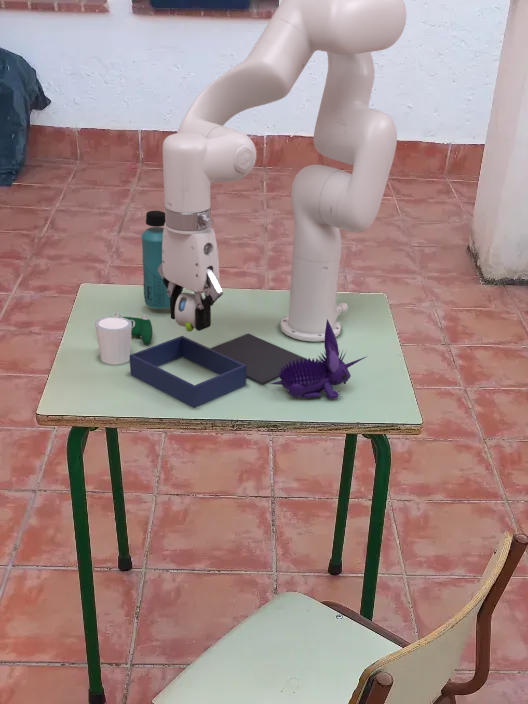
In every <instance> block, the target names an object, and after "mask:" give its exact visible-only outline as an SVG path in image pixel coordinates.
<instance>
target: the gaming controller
mask: <svg viewBox="0 0 528 704" xmlns="http://www.w3.org/2000/svg"><path fill="white" fill-rule="evenodd" d="M114 316H117V317H123V318H126V319H129V320H130V321H131V323H132V330H131V337H136V338H141V339H142V342H143V345H146V346H149V345H150V344H151V342H152V339H153V325H152V322H151V320H150V318H149V317H148V316H147V315H145V314H143V315H142V317H141V318H140V317H134V316H133V317H132V316H122V315H121V313H119V312H116V313H115V314H114Z"/></svg>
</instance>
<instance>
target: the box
mask: <svg viewBox="0 0 528 704" xmlns="http://www.w3.org/2000/svg"><path fill="white" fill-rule="evenodd" d="M181 358H184V359H186V360H188V361H190V362H192V363H194V364H196V365H198V366H201V367H202V368H204V369H206V370H209V371H211V372H213V373H215V374H217V375H216V376H213V377H211V378H208V379H206V380H203V381H201V382H199V383H196V384H193V383H191V382H189V381H187V380H185V379H183V378H181V377H179V376H176V375H175V374H172V373H171V372H169V371H166V370H165V369H162V368H161V367H160V366H163V365H165V364H168V363H170V362H173V361H176V360H178V359H181ZM129 368H130V369H129V370H130V372H129V373H130V376H131V377H133V378H135V379H137V380H139V381H141V382H142V383H145V384H146V385H149V386H151V387H153V388H155V389H157V390H159V391H161V392H163V393H164V394H166V395H168V396H170V397H172V398H174V399H176V400H178V401H180V402H182V403H184V404H186V405H187V406H189V407H192V408H193V409H196V408H198V407H200V406H203V405H204V404H207V403H209V402H212V401H214V400H216V399H218V398H221V397H223V396H225V395H228V394H229V393H232V392H234V391H237V390H239V389H241V388H243V387H245V386H247V377H246V371H247V365H245V364H242V363H240V362H238V361H236V360H234V359H232V358H229V357H227V356H225V355H223V354H221V353H219V352H216V351H214V350H212V349H210V347H208V346H205V345H204V344H201V343H200V342H197V341H195V340H193V339H190V338H188V337H186V336H184V335H181V336H178V337H175V338H171V339H169V340H167V341H164V342H161V343H158V344H156V345H154V346H153V345H152V346H151V347H148V348H145V349H142V350H140V351H137V352H134V353H132V354H131V353H130V360H129Z"/></svg>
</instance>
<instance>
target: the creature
mask: <svg viewBox="0 0 528 704" xmlns="http://www.w3.org/2000/svg"><path fill="white" fill-rule="evenodd" d="M343 352H344V350H342V351H341V352H340V351H339V343H338V341H337V337H335V334H334V332H333V330H332V328H331V326H330V324H329V321H328V319H327V323H326V330H325V341H324V354H323V353H322V352H320V355H318V354H317V358H314V357H313V358H312V359H311V358H310V357H308V358H306V357H304V358H305V359H304V363H303V360H302V359H300V363H299V361H298V359H296V364H295V362H294V360H293V362H292V363H293V366H292V364H291V362H290V361H289V366H288V365H287V363H286V368H285V366H284V365H283V367H284V368H283V369H284V370H283V369H282V368H281V371H282V372H281V371H280V370H279V371H280V374H281V375H280V374H279V373H278V374H279V376H280V377H279V378H280V380H277V381H275V382H274V381H273V382H270V385H281V386H282V387H283V388H284V389H285V390H286V391H287V392H288V394H289V395H290V397H294V398H305V399H312V398H318V397H320V396H321V397H323V396H324V394H323V393H321V392H324V393H325V395H326V397H327V398H328V399H330V400H336V399H337V398H338V397H339V398H340V397H342V398H343V396H342V395H340V393H339V392H340V390H338V391H336V390H335V389H334V387H333V386H339V385H341V384H343V385H346V383H347V382H348V381H349V379H351V373H350V371H349V368H350V367H352V366H354V365H356V364H357V363H358V362H361V361H363V360H364V359H366V358H367V356H364V357H362V358H358V359H356V360H353V361H351V362H349V363H346V362H345V361H343V360H344V358H345V356H346V354H347V353H348V352H347V350H346V352H345V353H344V354H343ZM340 353H341V354H340ZM306 359H308V362H307V360H306ZM322 394H323V395H322Z"/></svg>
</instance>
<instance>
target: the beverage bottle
mask: <svg viewBox="0 0 528 704" xmlns="http://www.w3.org/2000/svg"><path fill="white" fill-rule="evenodd" d="M164 223H165V211H161V210H149V211H146V213H145V224H146V225H147V226H149V227H148V228H146V229H145V230H144V231H143V233H142V234H141V237H140V238H141V246H142V247H141V249H142V252H141V253H142V275H143V282H142V286H143V298H144V303H145V305H146V306H147V307H148V308H151V309H158V310H162V309H164V310H165V309H170V297H171V296H168V294H167V288H166V286H165V284H164V282H163V279H162V277H161V276H160V274H159V272H158V267H159V266H160V265H161V263H162V240H163V230H164Z"/></svg>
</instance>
